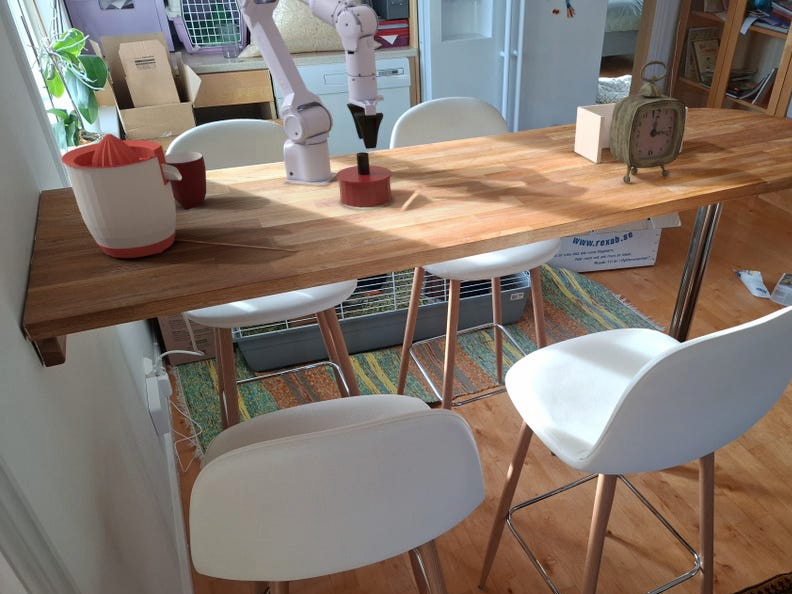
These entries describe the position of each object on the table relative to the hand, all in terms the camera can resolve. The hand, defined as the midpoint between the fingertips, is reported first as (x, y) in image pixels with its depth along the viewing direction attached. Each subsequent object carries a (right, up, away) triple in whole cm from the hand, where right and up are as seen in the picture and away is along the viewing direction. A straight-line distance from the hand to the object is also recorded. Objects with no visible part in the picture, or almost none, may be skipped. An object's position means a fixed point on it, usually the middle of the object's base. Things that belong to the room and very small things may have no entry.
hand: (367, 143), depth 144 cm
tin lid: (0, -7, -2) cm, 8 cm away
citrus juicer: (-37, -25, -20) cm, 49 cm away
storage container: (+61, +8, +32) cm, 70 cm away
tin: (0, -12, 0) cm, 12 cm away
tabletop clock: (+60, -3, +15) cm, 62 cm away
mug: (-37, -14, -3) cm, 39 cm away
